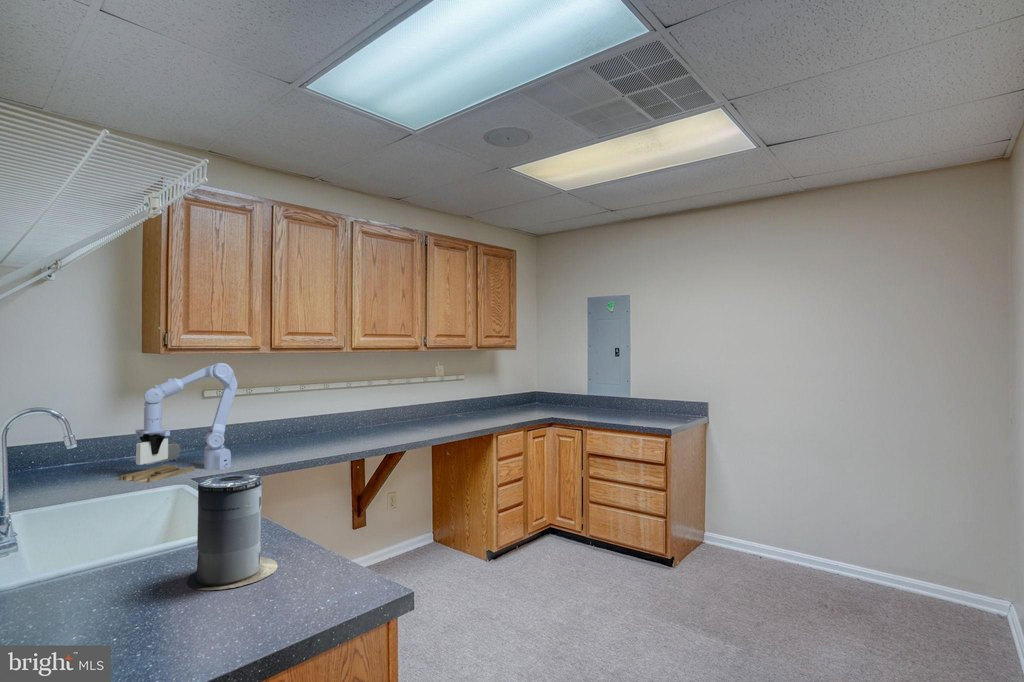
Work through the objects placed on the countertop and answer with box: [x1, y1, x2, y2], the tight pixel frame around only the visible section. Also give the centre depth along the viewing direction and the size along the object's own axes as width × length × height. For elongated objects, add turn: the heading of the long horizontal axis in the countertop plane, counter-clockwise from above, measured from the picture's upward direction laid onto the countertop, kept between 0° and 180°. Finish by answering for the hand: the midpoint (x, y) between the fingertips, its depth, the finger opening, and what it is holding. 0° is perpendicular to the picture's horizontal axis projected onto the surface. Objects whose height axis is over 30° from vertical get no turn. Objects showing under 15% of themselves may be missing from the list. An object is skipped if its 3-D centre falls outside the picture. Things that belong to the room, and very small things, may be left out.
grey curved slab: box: [141, 441, 181, 466], centre depth 230 cm, size 17×5×10 cm, turn 171°
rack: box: [118, 464, 195, 483], centre depth 203 cm, size 14×20×3 cm
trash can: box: [186, 474, 278, 591], centre depth 115 cm, size 17×18×21 cm
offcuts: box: [151, 467, 180, 477], centre depth 202 cm, size 4×10×2 cm, turn 167°
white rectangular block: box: [135, 437, 169, 466], centre depth 204 cm, size 2×12×8 cm, turn 166°
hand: (152, 453), depth 204 cm, fingers closed on white rectangular block, 2 cm apart
